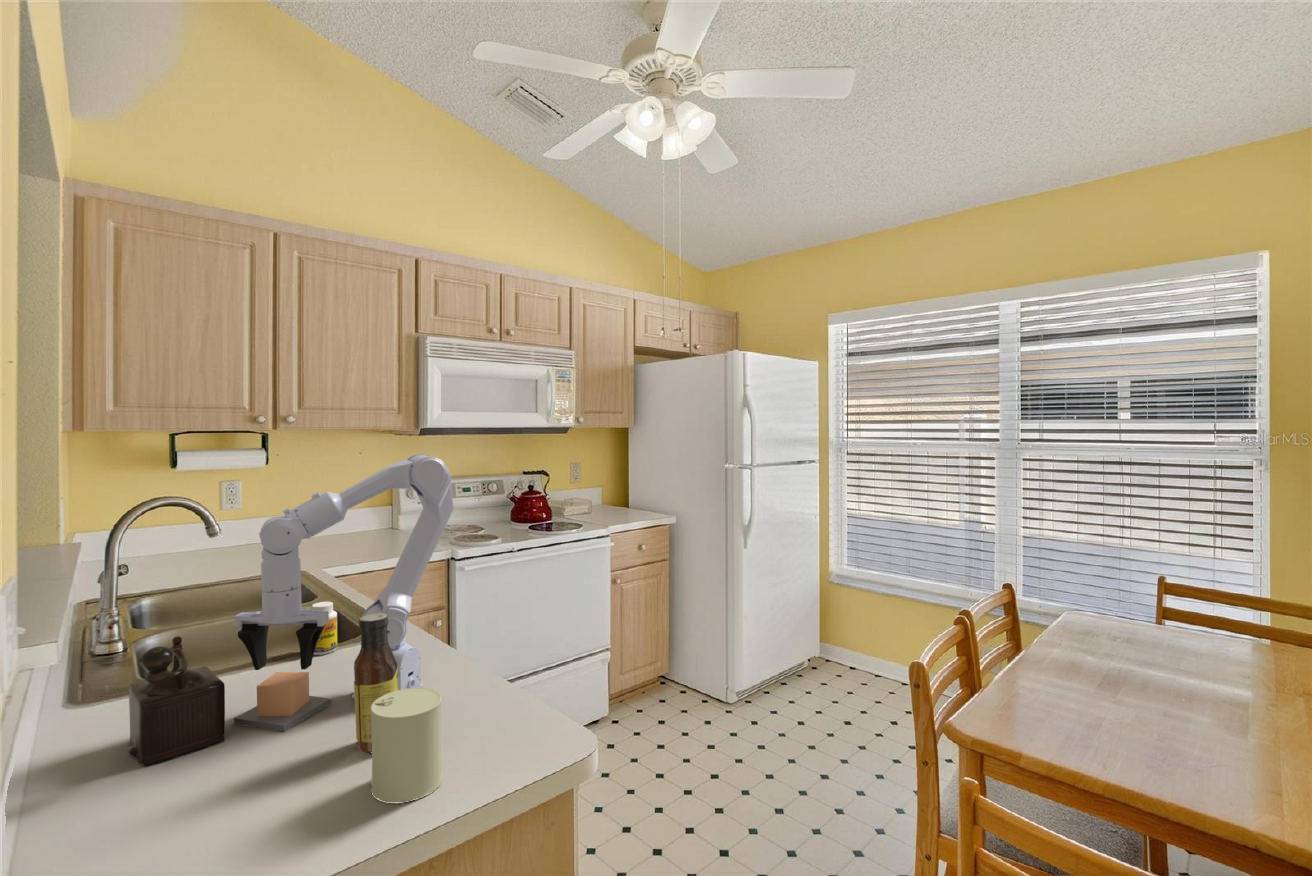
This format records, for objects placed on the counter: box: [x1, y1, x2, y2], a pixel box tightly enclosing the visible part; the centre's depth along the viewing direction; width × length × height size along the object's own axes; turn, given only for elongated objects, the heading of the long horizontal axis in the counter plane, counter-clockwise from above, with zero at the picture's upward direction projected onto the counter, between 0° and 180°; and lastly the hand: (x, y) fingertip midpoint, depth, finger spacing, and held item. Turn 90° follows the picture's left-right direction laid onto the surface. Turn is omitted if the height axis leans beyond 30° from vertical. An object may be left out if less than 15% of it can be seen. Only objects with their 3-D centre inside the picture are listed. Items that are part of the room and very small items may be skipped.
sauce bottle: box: [353, 613, 399, 753], centre depth 98 cm, size 6×6×20 cm
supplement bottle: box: [311, 601, 338, 656], centre depth 136 cm, size 6×6×10 cm
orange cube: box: [256, 671, 310, 716], centre depth 108 cm, size 6×6×5 cm
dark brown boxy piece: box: [128, 636, 226, 767], centre depth 96 cm, size 16×11×18 cm
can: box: [370, 687, 444, 802], centre depth 88 cm, size 9×9×12 cm
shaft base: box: [233, 695, 332, 732], centre depth 108 cm, size 10×10×4 cm
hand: (283, 667), depth 108 cm, fingers open, 7 cm apart
